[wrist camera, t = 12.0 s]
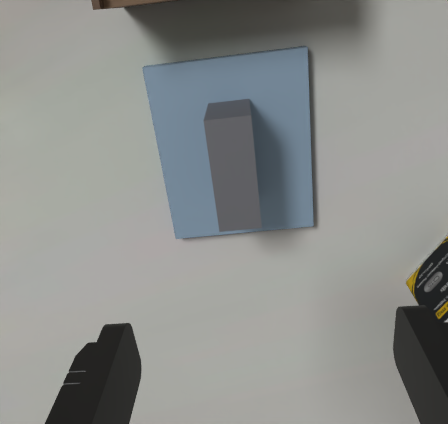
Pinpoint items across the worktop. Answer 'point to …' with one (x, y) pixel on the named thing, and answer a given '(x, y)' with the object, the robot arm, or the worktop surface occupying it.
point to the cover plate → (270, 135)
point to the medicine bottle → (432, 282)
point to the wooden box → (123, 3)
